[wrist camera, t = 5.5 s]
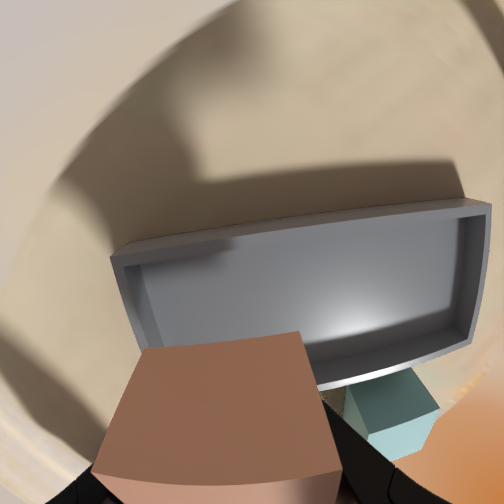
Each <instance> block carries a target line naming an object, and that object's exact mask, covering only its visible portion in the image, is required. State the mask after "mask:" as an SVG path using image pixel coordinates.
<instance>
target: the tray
mask: <svg viewBox="0 0 504 504" xmlns="http://www.w3.org/2000/svg"><path fill="white" fill-rule="evenodd" d="M491 212H492V204H490V203H486V202H482V201H478V200H474V199H470V198H455V199H444V200H433V201H422V202H412V203H403V204H393V205H384V206H375V207H366V208H358V209H349V210H341V211H333V212H325V213H317V214H310V215H302V216H295V217H287V218H280V219H273V220H266V221H259V222H252V223H245V224H239V225H232V226H226V227H219V228H213V229H206V230H200V231H194V232H188V233H182V234H176V235H170V236H164V237H158V238H152V239H147V240H141V241H135V242H130V243H128V244H126V245H125V246H124V247H122V248H121V249H119V250H118V251H117V252H115V253H114V254H113V255H111V256H110V260H111V263H112V267H113V270H114V274H115V277H116V281H117V284H118V287H119V290H120V294H121V297H122V300H123V303H124V306H125V309H126V312H127V315H128V318H129V321H130V323H131V326H132V329H133V332H134V334H135V337H136V340H137V342H138V345H139V347H140V350H141V353H143V351H144V349H145V348H154V347H169V346H182V345H194V344H205V343H214V342H223V341H232V340H240V339H248V338H255V337H262V336H269V335H276V334H282V333H289V332H295V331H299V332H300V335H301V338H302V341H303V344H304V347H305V350H306V353H307V356H308V359H309V362H310V365H311V369H312V372H313V375H314V378H315V381H316V384H317V387H318V390H319V391H324V390H329V389H333V388H338V387H342V386H346V385H350V384H354V383H358V382H362V381H366V380H370V379H373V378H377V377H380V376H384V375H387V374H390V373H394V372H397V371H400V370H403V369H406V368H409V367H412V366H415V365H418V364H421V363H424V362H426V361H429V360H432V359H435V358H437V357H440V356H442V355H445V354H447V353H450V352H452V351H455V350H457V349H459V348H462V347H464V346H466V345H469V344H471V342H472V339H473V335H474V331H475V327H476V323H477V319H478V315H479V310H480V305H481V301H482V295H483V290H484V284H485V278H486V271H487V264H488V255H489V245H490V233H491Z"/></svg>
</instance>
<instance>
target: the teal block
mask: <svg viewBox="0 0 504 504" xmlns="http://www.w3.org/2000/svg"><path fill="white" fill-rule="evenodd" d="M439 410H440V407H439V406H438V404H437V403H436V401H435V400H434V399H433V397H432V396H431V394H430V393H429V392H428V390H427V389H426V387H425V386H424V385H423V383H422V382H421V380H420V379H419V378H418V376H417V375H416V374H415V372H414V371H413V369H412V368H411V367H409V368H406V369H403V370H400V371H397V372H394V373H390V374H387V375H384V376H380V377H377V378H373V379H370V380H366V381H362V382H358V383H354V384H350V385H346V392H345V402H344V412H343V419H344V420H345V421H346V422H347V423H348V424H349V425H350V426H351V427H352V428H353V429H354V430H355V431H357V432H358V433H359V434H360V435H361V436H362V437H363V438H364V439H365V440H366V441H368V442H369V443H370V444H371V445H372V446H373V447H374V448H375V449H377V450H378V451H379V452H380V453H381V454H382V455H383V456H385V457H386V458H387V459H388V460H389V461H390V462H391V461H393V460H396V459H399V458H401V457H404V456H407V455H409V454H412V453H414V452H416V451H419V450H421V448H422V446H423V444H424V442H425V440H426V438H427V436H428V434H429V432H430V430H431V428H432V426H433V424H434V421H435V419H436V417H437V415H438V412H439Z"/></svg>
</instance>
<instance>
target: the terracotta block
mask: <svg viewBox="0 0 504 504" xmlns="http://www.w3.org/2000/svg"><path fill="white" fill-rule="evenodd" d="M342 470H343V469H342V465H341V462H340V459H339V455H338V452H337V449H336V445H335V442H334V439H333V435H332V432H331V429H330V426H329V422H328V419H327V416H326V413H325V410H324V406H323V403H322V400H321V397H320V394H319V390H318V387H317V384H316V381H315V378H314V375H313V372H312V369H311V365H310V362H309V359H308V356H307V353H306V350H305V347H304V344H303V341H302V338H301V335H300V332H299V331H295V332H289V333H282V334H276V335H269V336H262V337H255V338H248V339H240V340H232V341H223V342H214V343H205V344H194V345H182V346H169V347H154V348H145V349H144V351H143V353H142V355H141V357H140V359H139V361H138V363H137V365H136V367H135V370H134V372H133V374H132V376H131V378H130V380H129V382H128V385H127V387H126V389H125V391H124V393H123V396H122V398H121V400H120V402H119V405H118V407H117V409H116V411H115V414H114V416H113V418H112V421H111V423H110V425H109V428H108V430H107V432H106V435H105V437H104V439H103V442H102V444H101V447H100V449H99V452H98V454H97V457H96V459H95V462H94V464H93V467H92V469H91V473H92V474H93V475H94V476H95V477H96V478H97V479H98V480H99V481H100V482H101V483H102V484H103V485H104V486H105V487H106V488H107V489H109V490H110V491H111V492H112V493H113V494H114V495H115V496H116V497H117V498H119V499H120V500H121V501H122V502H123V503H124V504H335V502H336V498H337V493H338V489H339V484H340V480H341V475H342Z"/></svg>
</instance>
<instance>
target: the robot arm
mask: <svg viewBox="0 0 504 504" xmlns="http://www.w3.org/2000/svg"><path fill="white" fill-rule="evenodd" d="M321 400H322V399H321ZM322 403H323V406H324V410H325V413H326V416H327V419H328V422H329V426H330V429H331V432H332V435H333V439H334V442H335V445H336V449H337V452H338V455H339V459H340V462H341V465H342V469H343V470H342V475H341V480H340V484H339V489H338V493H337V498H336V502H335V504H452V503H450V502H447V501H446V500H444V499H442V498H441V497H439V496H437V495H435V494H433V493H432V492H430V491H428V490H427V489H425V488H423V487H422V486H421V485H419V484H418V483H416V482H415V481H414V480H412V479H411V478H409V477H408V476H407V475H406V474H405V473H403V472H402V471H401V470H400V469H399V468H395V465H393V463H391V462H390V461H389V460H388V459H387V458H386V457H385V456H383V455H382V454H381V453H380V452H379V451H378V450H377V449H375V448H374V447H373V446H372V445H371V444H370V443H369V442H368V441H366V440H365V439H364V438H363V437H362V436H361V435H360V434H359V433H358V432H357V431H355V430H354V429H353V428H352V427H351V426H350V425H349V424H348V423H347V422H346V421H345V420H344V419H343V418H341V417H340V416H339V415H338V414H337V413H336V412H335V411H334V410H333V409H332V408H331V407H330V406H329V405H328V404H327V403H326V402H325V401H324V400H322ZM93 464H94V463H93ZM93 464H92V465H90V466H89V467H88V468H87V469H86V470H85V471H84V472H83V473H82V474H81V475H80V476H79V477H77V478H76V480H74V481H73V482H72V483H71V484H70V485H69V486H67V487H66V488H65V489H64V490H63V491H61V492H60V493H59V494H58V495H56V496H55V497H54V498H52V499H51V500H50V501H48V502H47V503H45V504H124V503H123V502H122V501H121V500H120V499H119V498H117V497H116V496H115V495H114V494H113V493H112V492H111V491H110V490H109V489H107V488H106V487H105V486H104V485H103V484H102V483H101V482H100V481H99V480H98V479H97V478H96V477H95V476H94V475H93V474H92V473H91V469H92V467H93Z"/></svg>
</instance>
